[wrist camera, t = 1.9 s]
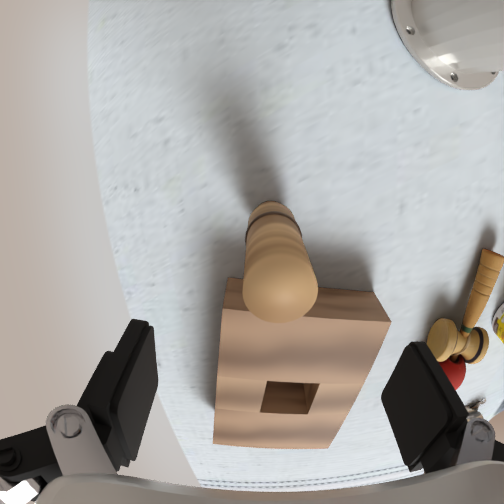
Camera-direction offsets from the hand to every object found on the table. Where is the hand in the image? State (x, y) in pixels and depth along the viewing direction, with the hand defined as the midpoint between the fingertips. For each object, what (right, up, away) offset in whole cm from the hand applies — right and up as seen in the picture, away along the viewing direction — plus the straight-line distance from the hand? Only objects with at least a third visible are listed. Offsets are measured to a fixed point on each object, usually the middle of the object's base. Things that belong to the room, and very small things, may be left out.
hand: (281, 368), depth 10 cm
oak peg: (0, +7, +15) cm, 17 cm away
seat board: (+3, -8, +22) cm, 23 cm away
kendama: (+23, -3, +20) cm, 30 cm away
